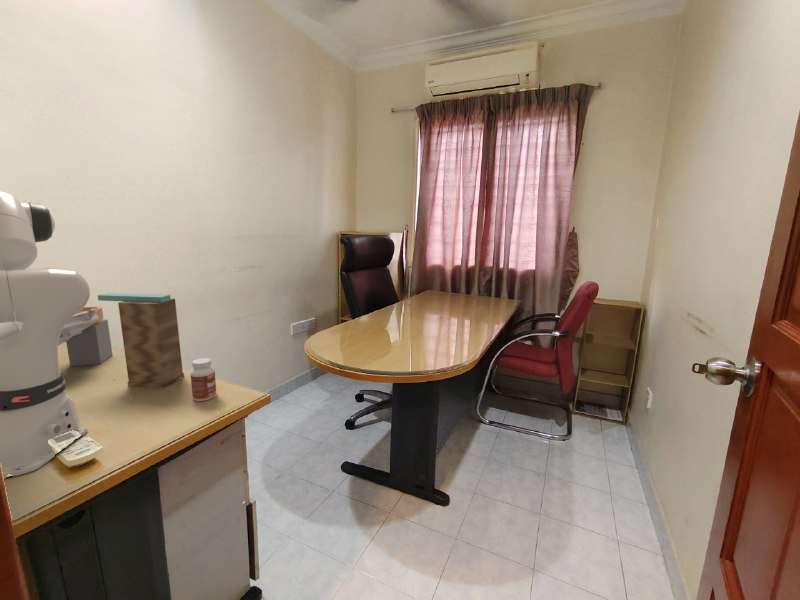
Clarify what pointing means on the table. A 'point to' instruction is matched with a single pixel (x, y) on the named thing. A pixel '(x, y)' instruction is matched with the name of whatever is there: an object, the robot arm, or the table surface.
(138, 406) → the table surface
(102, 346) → the riser
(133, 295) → the lid slat
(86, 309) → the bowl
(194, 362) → the pill bottle
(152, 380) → the walnut shelf
